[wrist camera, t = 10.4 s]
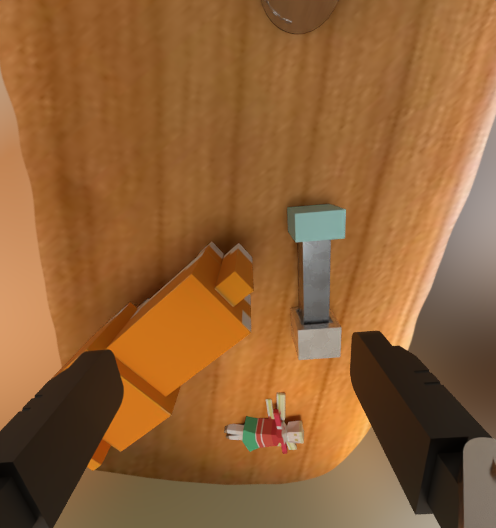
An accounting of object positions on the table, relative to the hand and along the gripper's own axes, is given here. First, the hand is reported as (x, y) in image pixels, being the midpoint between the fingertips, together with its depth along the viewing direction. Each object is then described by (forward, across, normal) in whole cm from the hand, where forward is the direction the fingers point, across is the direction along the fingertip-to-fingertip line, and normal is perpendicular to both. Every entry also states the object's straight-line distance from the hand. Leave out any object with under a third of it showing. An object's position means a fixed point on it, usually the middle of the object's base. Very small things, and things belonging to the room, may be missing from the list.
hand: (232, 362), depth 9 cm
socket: (+30, -9, +1) cm, 31 cm away
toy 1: (+30, +12, +12) cm, 35 cm away
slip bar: (+29, -9, +9) cm, 32 cm away
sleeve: (+30, -9, +18) cm, 36 cm away
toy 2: (+31, 0, +40) cm, 51 cm away
